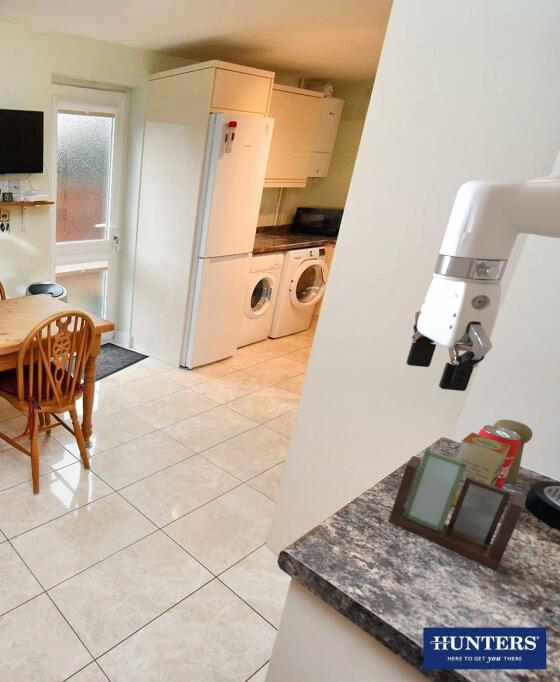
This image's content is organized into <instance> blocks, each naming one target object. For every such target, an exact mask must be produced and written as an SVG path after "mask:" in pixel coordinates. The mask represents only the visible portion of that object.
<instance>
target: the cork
mask: <svg viewBox="0 0 560 682" xmlns="http://www.w3.org/2000/svg"><path fill="white" fill-rule="evenodd" d="M492 426H498V427H502V428H506V429H508V430H511V431H513V432H515V433H517V434H518V435H519V436H520V442H521V443H520V446H519V448H518V451H517V453H516V455H515V458H514V460H513V463H512V465H511V467H510V470H509V472H508V475H507V477H506V480H505V482H504V483H508V484H509V483H510V484H512V483H516V482H518V478H519V473H520V468H521V463H522V458H523V454H524V453H523V452H524V448H525V447H524V446H525V444H526V443H528V442H530V441H531V439H532V438H533V430H532V429H531V428H530V427H529V426H528V425H526V424H524V423H522V422H519V421H515V420H511V419H499V420H497V421H496V422H494V424H493V425H492Z"/></svg>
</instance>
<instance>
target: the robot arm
mask: <svg viewBox="0 0 560 682" xmlns="http://www.w3.org/2000/svg"><path fill="white" fill-rule="evenodd" d="M519 234H524V235H535V236H540V237H547V238H555V239H560V172H556V173H553V174H548V175H545V176H540V177H537V178H534V179H531V180H527V181H526V180H521V179H475V180H470V181H467V182H465V183H463V184H462V185H461V186H460V188H459V189H458V191H457V193H456V197H455V200H454V203H453V206H452V209H451V213H450V216H449V220H448V223H447V226H446V230H445V233H444V236H443V239H442V243H441V247H440V250H439V252H438V253H439V254H438V257H437V259H436V263H435V266H434V269H433V272H432V277H433V279H432V281H431V283H430V285H429V287H428V290H427V292H426V296H425V298H424V300H423V303H422V306H421V308H420V310H419V311H416V312H415V314H414V325H413V333H414V334H413V335H412V336H411V345H410V346H411V347H410V349H409V352H408V356H407V358H406V361H405V363H406V364H407V365H408V366H412V367H419V368H420V367H423V368H428V367H430V366H431V363H432V360H433V357H434V353H435V351H436V347H437V344H439V345H440V346H442V347H444V348H447V349H448V354H449V360H450V361H449V362H446V363H445V366H444V369H443V372H442V375H441V378H440V380H439V384H438V387H439V388H440V389H441V390H448V391H456V392H458V391H459V392H465V391H467V388H468V386H469V383H470V379H471V377H472V374H473V371H474V368H477V367H478V366H479V363H480V362H482V361H483V360H484V359H485V356H486V355H487V354H488V353H489V351H490V350H491V349H492V347H493V343H492V342H491V337H492V333H493V329H494V328H495V323H496V319H497V316H498V311H499V307H500V301H501V295H502V284H501V282H502V279H503V277H504V274H505V272H506V268H507V265H508V262H509V259H510V257H511V255H512V251H513V249H514V246H515V243H516V240H517V237H518V235H519ZM435 343H436V344H435ZM460 351H461V352H463V353H462V354H460Z"/></svg>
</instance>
